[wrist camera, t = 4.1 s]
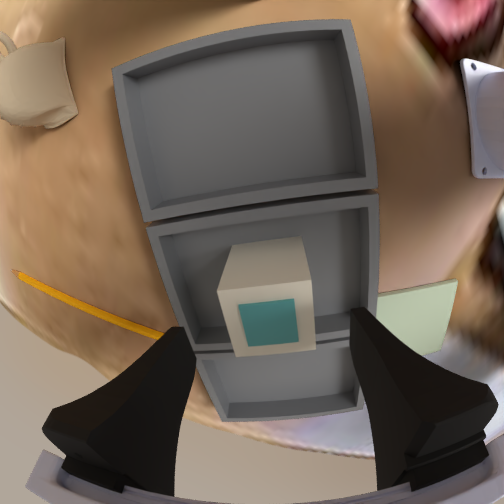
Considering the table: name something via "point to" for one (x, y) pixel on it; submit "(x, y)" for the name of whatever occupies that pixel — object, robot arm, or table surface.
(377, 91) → the table surface
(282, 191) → the tray
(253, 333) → the letter block
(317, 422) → the table surface
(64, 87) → the decorative ornament
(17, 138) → the table surface
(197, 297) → the tray
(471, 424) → the robot arm
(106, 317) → the pencil
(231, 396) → the tray
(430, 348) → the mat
